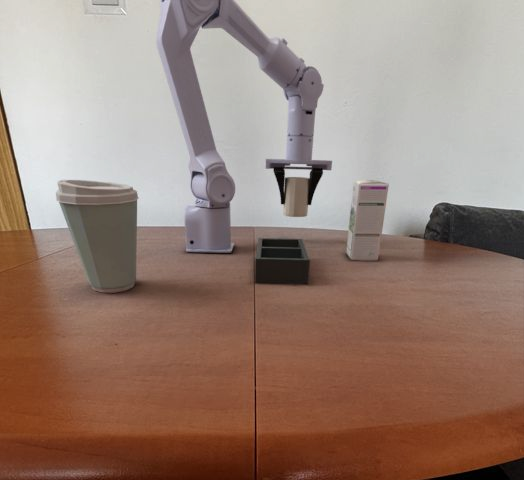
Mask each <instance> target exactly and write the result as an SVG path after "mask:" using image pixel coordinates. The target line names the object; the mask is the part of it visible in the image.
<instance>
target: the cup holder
mask: <svg viewBox="0 0 524 480" xmlns="http://www.w3.org/2000/svg"><path fill="white" fill-rule="evenodd" d="M254 263H255V265H254V267H255V268H254V269H255V271H254V272H255V273H254V275H255V276H254V280H255V281H254V284H281V285H282V284H283V285H308V284H309V276H310V264H311V259H310V257H309V254H308V251H307V249H306V246H305V243H304V241H303V238H282V237H281V238H279V237H277V238H276V237H275V238H274V237H258V238H257V246H256V252H255V262H254Z"/></svg>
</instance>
